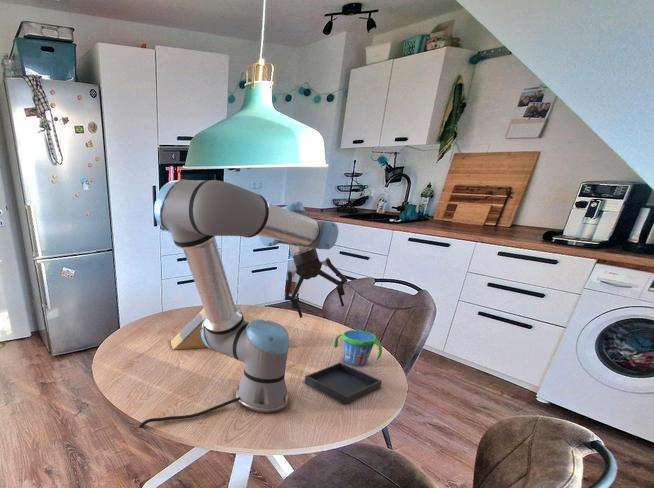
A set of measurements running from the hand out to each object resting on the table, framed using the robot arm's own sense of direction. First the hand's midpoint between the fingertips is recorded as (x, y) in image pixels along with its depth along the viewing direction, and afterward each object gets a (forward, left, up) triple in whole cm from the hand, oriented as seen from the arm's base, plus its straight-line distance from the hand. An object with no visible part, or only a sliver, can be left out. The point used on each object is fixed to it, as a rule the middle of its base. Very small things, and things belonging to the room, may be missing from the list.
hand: (321, 311), depth 131 cm
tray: (-6, -16, -19) cm, 26 cm away
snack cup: (+12, -8, -19) cm, 24 cm away
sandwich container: (-28, +37, -19) cm, 50 cm away
